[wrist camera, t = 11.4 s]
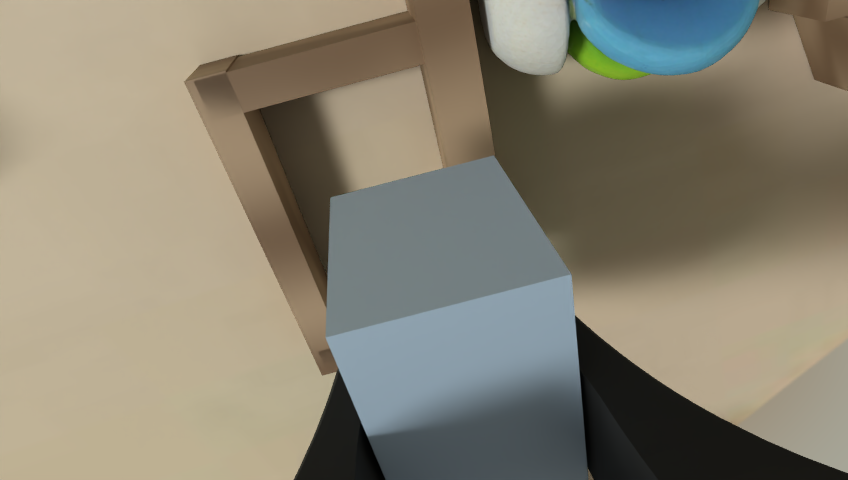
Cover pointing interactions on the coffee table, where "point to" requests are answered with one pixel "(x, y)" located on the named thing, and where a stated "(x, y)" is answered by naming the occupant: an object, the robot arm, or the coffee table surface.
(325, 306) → the frame
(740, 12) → the rainbow fan toy
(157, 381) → the coffee table surface
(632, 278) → the coffee table surface
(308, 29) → the coffee table surface
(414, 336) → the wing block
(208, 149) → the coffee table surface
